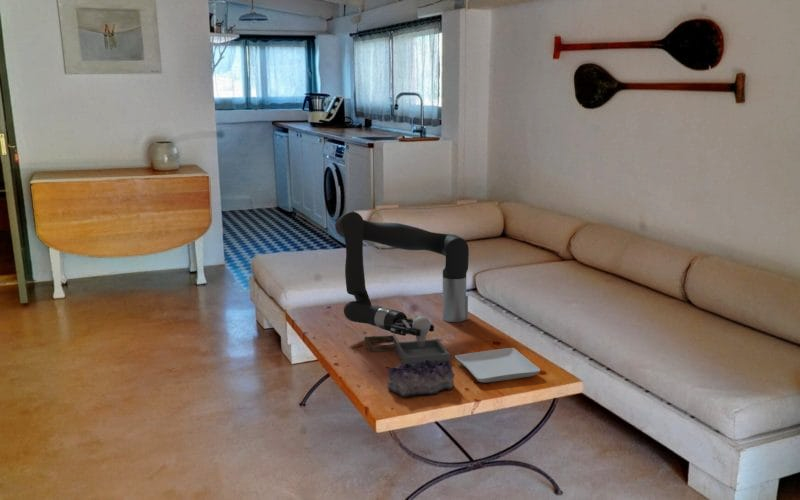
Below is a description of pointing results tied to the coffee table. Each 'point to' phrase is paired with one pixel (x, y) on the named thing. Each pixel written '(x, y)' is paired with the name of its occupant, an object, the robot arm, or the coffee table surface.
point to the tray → (422, 352)
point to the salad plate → (498, 365)
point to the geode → (420, 378)
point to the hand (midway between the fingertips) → (426, 330)
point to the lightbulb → (421, 329)
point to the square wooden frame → (381, 347)
